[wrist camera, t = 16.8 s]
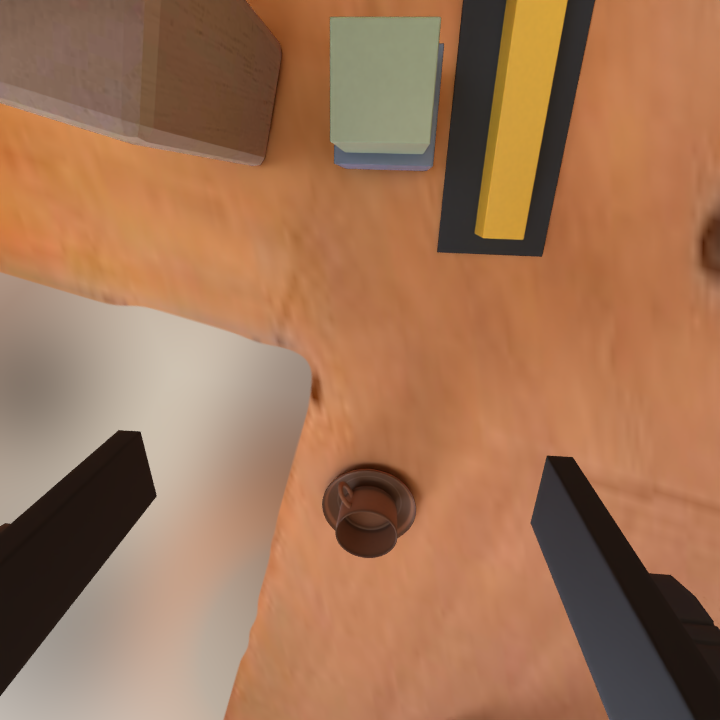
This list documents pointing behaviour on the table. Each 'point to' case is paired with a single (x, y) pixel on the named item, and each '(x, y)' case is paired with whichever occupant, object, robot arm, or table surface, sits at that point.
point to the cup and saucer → (368, 511)
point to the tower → (384, 91)
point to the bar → (518, 115)
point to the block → (145, 71)
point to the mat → (473, 119)
